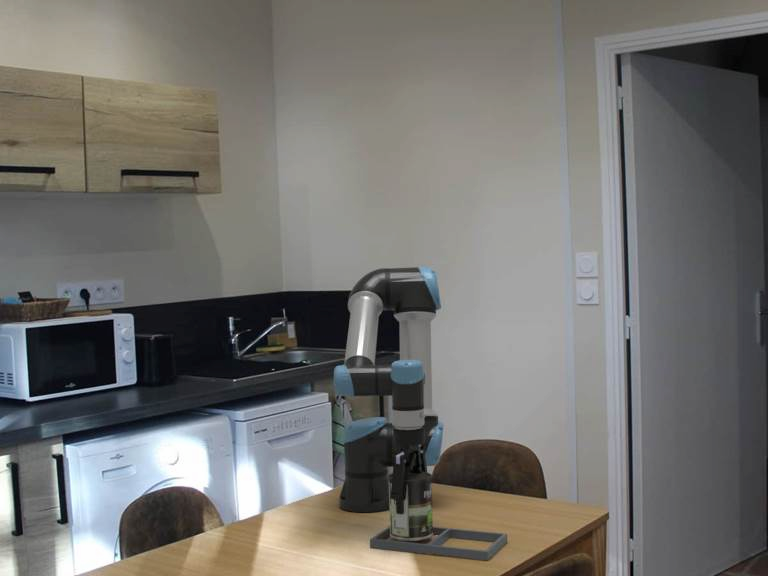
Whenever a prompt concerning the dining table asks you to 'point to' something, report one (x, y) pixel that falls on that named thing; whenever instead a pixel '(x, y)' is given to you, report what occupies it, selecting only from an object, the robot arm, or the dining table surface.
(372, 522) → the dining table surface
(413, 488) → the coffee can
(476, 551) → the organiser
